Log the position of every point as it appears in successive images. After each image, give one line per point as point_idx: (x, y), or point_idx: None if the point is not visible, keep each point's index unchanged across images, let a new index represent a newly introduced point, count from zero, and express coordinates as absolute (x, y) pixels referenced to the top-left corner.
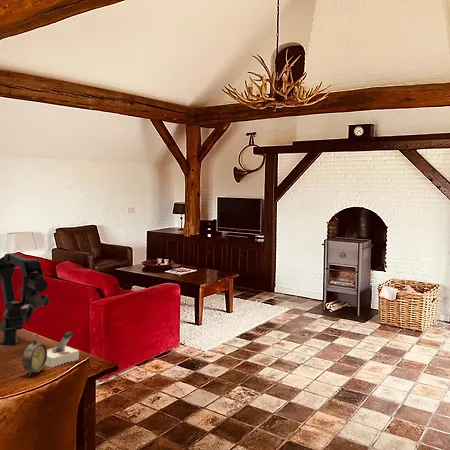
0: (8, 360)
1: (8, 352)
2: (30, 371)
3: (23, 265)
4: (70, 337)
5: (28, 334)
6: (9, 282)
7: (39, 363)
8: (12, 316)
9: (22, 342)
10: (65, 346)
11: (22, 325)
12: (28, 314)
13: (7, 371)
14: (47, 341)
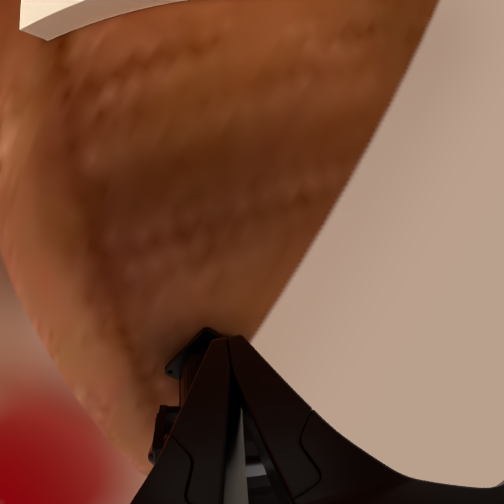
0: (365, 112)
1: (297, 233)
2: None
3: None
4: None
5: (99, 405)
6: None
7: None
8: (259, 482)
9: (154, 342)
10: (27, 2)
11: (157, 421)
12: (233, 455)
13: (425, 5)
14: (36, 296)
